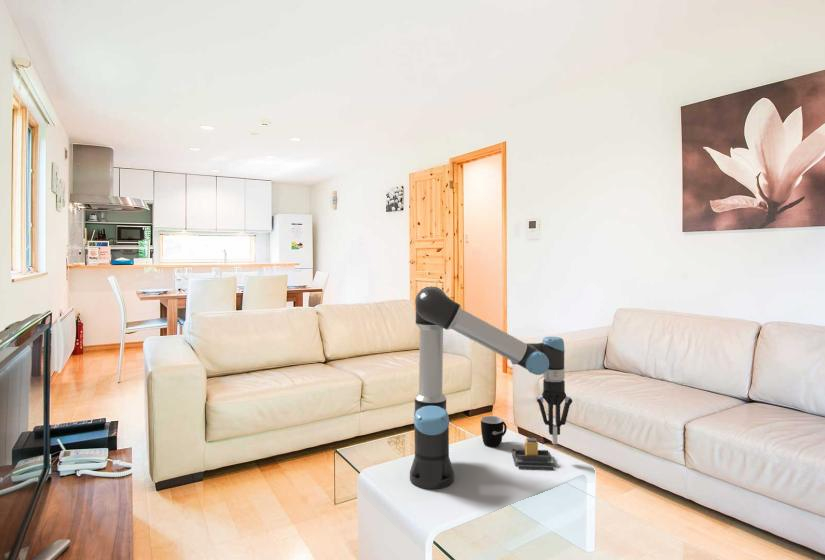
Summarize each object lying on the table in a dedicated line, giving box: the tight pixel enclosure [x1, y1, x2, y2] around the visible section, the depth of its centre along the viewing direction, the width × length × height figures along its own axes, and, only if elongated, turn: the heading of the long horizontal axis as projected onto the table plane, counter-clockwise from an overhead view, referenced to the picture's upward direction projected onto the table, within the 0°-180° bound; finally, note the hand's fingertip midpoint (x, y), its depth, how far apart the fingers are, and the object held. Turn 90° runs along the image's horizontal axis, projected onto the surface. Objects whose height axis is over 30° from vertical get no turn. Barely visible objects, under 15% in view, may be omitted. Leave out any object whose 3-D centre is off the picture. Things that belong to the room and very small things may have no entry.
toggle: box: [524, 437, 539, 455], centre depth 174 cm, size 4×3×7 cm
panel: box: [511, 448, 556, 468], centre depth 174 cm, size 14×10×3 cm
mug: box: [480, 415, 507, 448], centre depth 191 cm, size 12×9×10 cm
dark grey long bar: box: [518, 465, 555, 471], centre depth 168 cm, size 12×1×1 cm, turn 85°
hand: (554, 443), depth 174 cm, fingers closed
